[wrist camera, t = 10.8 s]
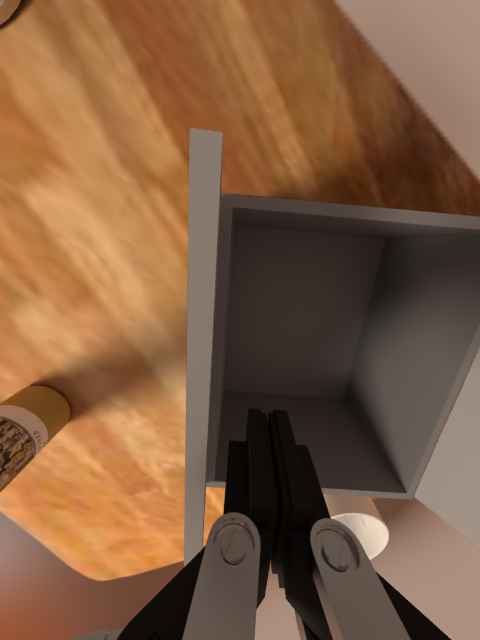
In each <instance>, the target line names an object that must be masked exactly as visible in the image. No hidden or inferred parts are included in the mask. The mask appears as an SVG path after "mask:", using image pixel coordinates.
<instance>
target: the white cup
mask: <svg viewBox="0 0 480 640" xmlns="http://www.w3.org/2000/svg"><path fill="white" fill-rule="evenodd" d="M323 495H324V499H325V502H326V505H327V508H328V511H329V514H330V517H331V519H334V520H337V521H339V522H341V523H343V524H344V525H345V526H347V527H348V528H349V529H350V530H351V531H352V532H353V533H354V534H355V535H356V537H357V538H358V540H359V541H360V543H361V545H362V546H363V548H364V550H365V552H366V554H367V556H368V558H369V560H370V559H372V558H374V557H375V556H377V555H378V554H379V553H381V552H382V551H383V549H384V548H385V547H386V545H387V543H388V540H389V531H388V528H387V526H386V525H385V523H384V521H383V519H382V518H381V516H380V514H379V512H378V510H377V509H376V507H375V505H374V504H373V501H372V500H371V498H370V497H365V496H349V495H333V494H323Z"/></svg>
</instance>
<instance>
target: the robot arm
mask: <svg viewBox="0 0 480 640" xmlns="http://www.w3.org/2000/svg"><path fill="white" fill-rule="evenodd" d="M20 1H21V0H0V25H1V24H2V23H4V22H5V21H6V20H8V19H9V18H10V16H11V15H12V14H13V12H14V11H15V10H16V9H17V7H18V6H19V3H20ZM270 560H271V568H272V573H273V574H278V579H279V587H280V588H285V595H286V599H287V600H288V602H289V603H290V604H291V606H292V607H293V608H294V609H295V615H296V621H297V626H298V630H299V634H300V638H301V640H451V639H450V638H449V637H448V636H447V635H446V634H444V633H443V632H442V631H441V630H440V629H439V628H438V627H437V626H436V625H434V624H433V623H432V622H431V621H430V620H429V619H428V618H427V617H426V616H424V615H423V614H422V613H421V612H420V611H419V610H418V609H417V608H416V607H414V606H413V605H412V604H411V603H410V602H409V601H408V600H407V599H406V598H405V597H403V596H402V595H401V594H400V593H399V592H398V591H397V590H395V588H394V587H392V586H391V585H390V584H389V583H388V582H387V581H386V580H385V579H384V578H382V577H381V576H380V575H379V574H378V573H377V572H376V571H375V570H374V568H373V566H372V564H371V562H370V560H369V558H368V556H367V554H366V552H365V550H364V548H363V546H362V545H361V543H360V541H359V540H358V538H357V537H356V535H355V534H354V533H353V532H352V531H351V530H350V529H349V528H348V527H347V526H345V525H344V524H343V523H341V522H339V521H337V520H334V519H331V517H330V514H329V511H328V508H327V505H326V502H325V499H324V495H323V492H322V489H321V486H320V483H319V480H318V477H317V474H316V471H315V468H314V465H313V461H312V458H311V455H310V452H309V449H308V447H307V446H306V445H296V442H295V438H294V434H293V430H292V427H291V423H290V419H289V416H288V412H287V410H274V411H273V413H269V415H268V423H267V416H266V413H264V412H262V411H261V409H257V408H248V418H247V429H246V440H245V441H232V440H229V449H228V462H227V475H226V488H225V501H224V514H223V516H221V517H220V518H218V519H217V520H216V522H215V523H214V524H213V526H212V528H211V530H210V533H209V536H208V540H207V544H206V546H205V547H204V548H203V549H202V550H201V551H200V552H199V553H198V554H197V555H196V556H195V557H194V558H193V559H192V560H191V561H190V562H189V563H188V564H187V565H186V566H185V567H184V568H183V569H182V570H181V571H180V572H179V573H178V574H177V575H176V576H175V577H174V578H173V579H172V580H171V581H170V582H169V583H168V584H167V585H166V586H165V587H164V588H163V589H162V590H161V591H160V592H159V593H158V594H157V595H156V596H155V597H154V598H153V599H152V600H151V601H150V602H149V603H148V604H147V605H146V606H145V607H144V608H143V609H142V610H141V611H140V612H139V613H138V614H137V615H136V616H135V617H134V618H133V619H132V620H131V621H130V622H129V623H128V625H127V626H126V627H125V628H123V629H119V630H116V631H113V632H109V633H107V631H106V629H105V630H101V631H98V632H94V633H91V634H87V635H84V636H80V637H77V638H73V639H70V640H254V637H255V621H256V609H257V608H258V606H259V605H260V603H261V602H262V600H263V599H264V597H265V591H266V585H267V579H268V572H269V566H270Z"/></svg>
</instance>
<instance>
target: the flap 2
mask: <svg viewBox="0 0 480 640" xmlns="http://www.w3.org/2000/svg"><path fill="white" fill-rule="evenodd" d="M414 497H415V498H417V499H418V500H419V501H420V502H422V503H423V504H424V505H426V506H427V507H428V508H429V509H431V510H432V511H433V512H434V513H436V514H437V515H438V516H439V517H441V518H442V519H443V520H444V521H446V522H447V523H448V524H449V525H451V526H452V527H453V528H455V529H456V530H457V531H458V532H460V533H461V534H462V535H463V536H465V537H466V538H467V539H468V540H470V541H471V542H472V543H473V544H475V545H476V546H477V547H478V548H480V349H479V351H478V353H477V355H476V358H475V360H474V362H473V365H472V367H471V369H470V371H469V374H468V376H467V378H466V380H465V383H464V385H463V387H462V389H461V392H460V394H459V396H458V398H457V401H456V403H455V405H454V407H453V410H452V412H451V414H450V416H449V419H448V421H447V423H446V425H445V428H444V430H443V432H442V434H441V437H440V439H439V441H438V443H437V446H436V448H435V450H434V452H433V455H432V457H431V459H430V461H429V464H428V466H427V468H426V470H425V473H424V475H423V477H422V480H421V482H420V484H419V486H418V489H417V491H416V493H415V495H414Z"/></svg>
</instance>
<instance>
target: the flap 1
mask: <svg viewBox="0 0 480 640" xmlns="http://www.w3.org/2000/svg"><path fill="white" fill-rule="evenodd" d="M222 140H223V132H216V131H209V130H201V129H194V128H190V156H189V230H188V305H187V380H186V454H185V529H184V567H185V566H186V565H187V564H188V563H189V562H190V561H191V560H192V559H193V558H194V557H195V556H196V555H197V554H198V553H199V552H200V551H201V550H202V548H203V531H204V513H205V495H206V477H207V458H208V438H209V419H210V400H211V381H212V361H213V342H214V323H215V304H216V284H217V265H218V246H219V227H220V207H221V176H222Z"/></svg>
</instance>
